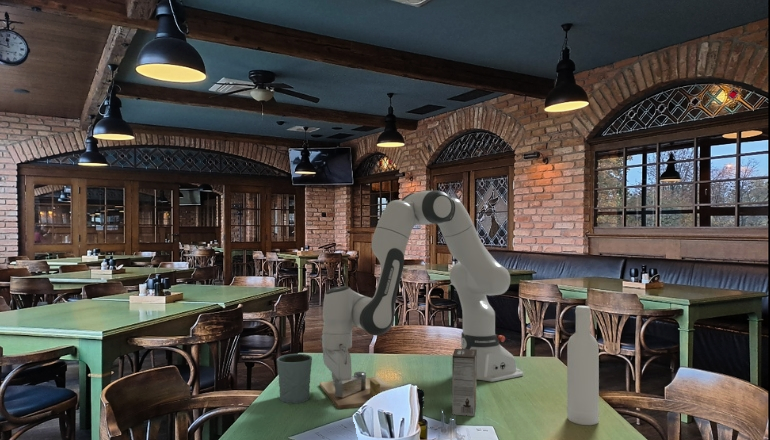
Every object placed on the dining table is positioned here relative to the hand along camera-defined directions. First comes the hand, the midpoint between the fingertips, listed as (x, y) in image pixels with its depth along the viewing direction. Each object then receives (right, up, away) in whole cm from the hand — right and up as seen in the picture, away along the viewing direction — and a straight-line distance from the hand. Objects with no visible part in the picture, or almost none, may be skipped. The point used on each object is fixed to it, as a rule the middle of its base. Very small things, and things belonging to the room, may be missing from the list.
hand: (336, 387), depth 156 cm
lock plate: (+7, -3, +4) cm, 8 cm away
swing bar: (+4, -1, 0) cm, 5 cm away
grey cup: (-12, -3, -2) cm, 13 cm away
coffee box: (+37, -3, -11) cm, 38 cm away
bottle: (+67, -3, -18) cm, 69 cm away
